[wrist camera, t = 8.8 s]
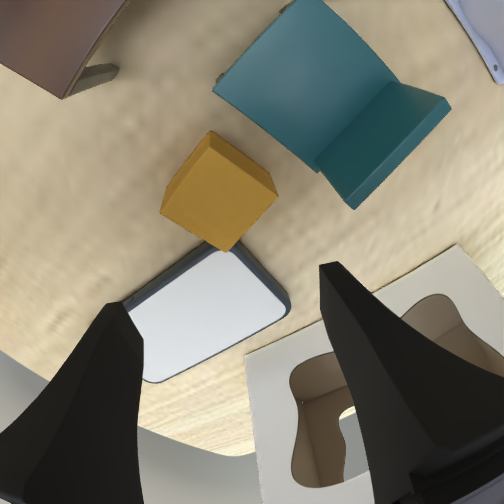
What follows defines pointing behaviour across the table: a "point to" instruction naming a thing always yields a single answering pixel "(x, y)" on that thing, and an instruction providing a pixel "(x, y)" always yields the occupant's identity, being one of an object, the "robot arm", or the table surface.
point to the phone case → (203, 308)
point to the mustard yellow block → (218, 193)
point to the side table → (57, 41)
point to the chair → (330, 99)
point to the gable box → (336, 389)
